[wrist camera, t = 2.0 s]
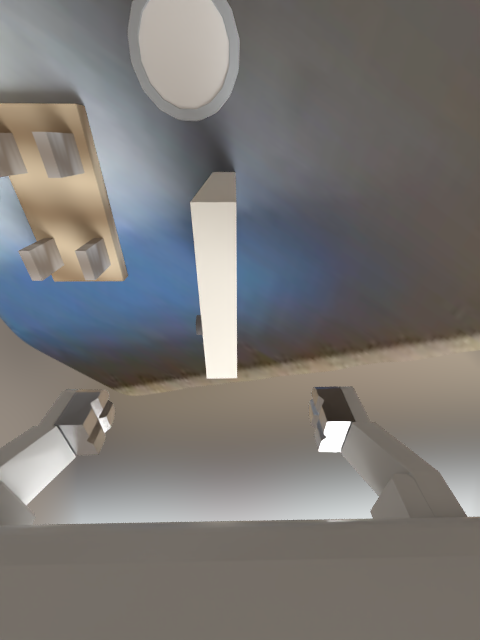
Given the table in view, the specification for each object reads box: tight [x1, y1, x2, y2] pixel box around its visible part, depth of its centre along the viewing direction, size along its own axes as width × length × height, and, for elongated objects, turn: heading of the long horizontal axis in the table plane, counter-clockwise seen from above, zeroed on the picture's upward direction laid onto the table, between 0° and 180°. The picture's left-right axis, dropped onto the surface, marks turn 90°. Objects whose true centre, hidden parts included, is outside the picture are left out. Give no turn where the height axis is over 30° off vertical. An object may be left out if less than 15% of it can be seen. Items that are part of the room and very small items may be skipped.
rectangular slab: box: [190, 172, 237, 378], centre depth 22 cm, size 12×3×16 cm, turn 0°
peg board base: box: [0, 103, 128, 281], centre depth 25 cm, size 16×8×6 cm, turn 0°
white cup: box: [127, 0, 240, 121], centre depth 19 cm, size 7×7×7 cm
